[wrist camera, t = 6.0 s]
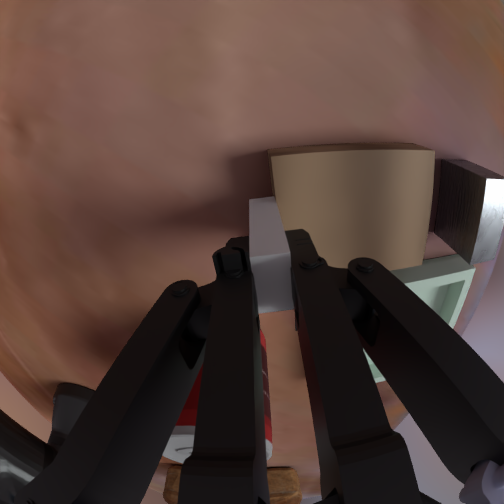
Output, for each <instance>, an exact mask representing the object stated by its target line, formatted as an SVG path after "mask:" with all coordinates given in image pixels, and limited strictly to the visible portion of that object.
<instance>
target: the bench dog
mask: <svg viewBox="0 0 504 504" xmlns="http://www.w3.org/2000/svg"><path fill="white" fill-rule="evenodd" d="M503 223H504V177H503V176H501V175H499V174H497V173H495V172H493V171H491V170H488V169H486V168H484V167H482V166H479V165H477V164H475V163H472V162H470V161H467V160H452V159H442V164H441V179H440V191H439V200H438V208H437V216H436V223H435V229H434V233H435V234H436V235H437V236H439V237H440V238H441V239H442V240H443V241H444V242H445V243H446V244H448V245H449V246H450V247H451V248H452V249H453V250H454V251H455V252H456V253H457V254H459V255H460V256H461V257H462V258H463V259H464V260H465V261H466V262H467V263H468V264H469V265H472V264H477V263H481V262H485V261H489V260H493V259H494V258H495V255H496V251H497V247H498V244H499V240H500V236H501V232H502V228H503Z"/></svg>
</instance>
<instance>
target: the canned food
mask: <svg viewBox="0 0 504 504" xmlns="http://www.w3.org/2000/svg"><path fill="white" fill-rule="evenodd" d="M260 336H261V355H262V375H263V396H264V417H265V438H266V460H268V459H270V457H271V456H272V427H271V412H270V398H269V383H268V369H267V355H266V342H265V338H264V335H263V333H262V331H261V329H260ZM202 369H203V364H202V366H201V368H200V371H199V373H198V375H197V378H196V380H195V382H194V384H193V387H192V389H191V391H190V393H189V396H188V398H187V400H186V402H185V405H184V407H183V409H182V412H181V414H180V416H179V418H178V421H177V423H176V425H175V427H174V430H173V432H172V434H171V436H170V439H169V441H168V443H167V446H166V448H165V450H164V452H163V456H164V457H167V458H169V459H171V460H174V461H177V462H180V463H184V460H185V459H186V458H188V457H189V456H190V455H191V453H192V450H193V443H194V434H195V425H196V416H197V408H198V400H199V392H200V384H201V376H202Z"/></svg>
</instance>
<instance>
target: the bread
mask: <svg viewBox="0 0 504 504" xmlns="http://www.w3.org/2000/svg"><path fill="white" fill-rule="evenodd" d="M181 468H182V466H172V467H171V468H168V472H167V477H166V482H165V489H164V492H163V498H164V499H165V501H166V502H167V503H168V504H177V502H178V491H179V482H180V473H181ZM267 478H268V486H269V495H270V504H300V502H301V500H302V493H301V490H300V484H299V479H298V475H297V472H296V471H295V470H294V469H293V468H270V469H267Z"/></svg>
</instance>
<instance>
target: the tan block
mask: <svg viewBox="0 0 504 504" xmlns="http://www.w3.org/2000/svg"><path fill="white" fill-rule="evenodd" d="M267 152H268V159H269V167H270V176H271V184H272V192H273V196H274V197H275V200H276V203H277V207H278V210H279V214H280V217H281V221H282V224H283V228H284V231H287V230H295V229H304V230H305V231H307V232H308V233H309V235H310V237H311V239H312V242H313V244H314V246H315V248H316V251H317V253H318V255H319V256H320V257H322V258H324V259H325V260H326V261H327V264H328V266H331V267H336V268H348V263H349V262H350V261H351V260H353V259H355V258H360V257H367V258H371V259H374V260H376V261H378V262H379V263H380V264H382V265H383V266H384V267H385V268H386V269H388V270H389V271H391V270H397V269H403V268H408V267H414V266H419V265H422V262H423V257H424V252H425V246H426V241H427V234H428V228H429V221H430V213H431V204H432V194H433V182H434V165H435V151H434V150H431V149H428V148H425V147H422V146H419V145H416V144H413V143H345V144H325V145H310V146H297V147H287V148H277V149H268V150H267Z"/></svg>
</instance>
